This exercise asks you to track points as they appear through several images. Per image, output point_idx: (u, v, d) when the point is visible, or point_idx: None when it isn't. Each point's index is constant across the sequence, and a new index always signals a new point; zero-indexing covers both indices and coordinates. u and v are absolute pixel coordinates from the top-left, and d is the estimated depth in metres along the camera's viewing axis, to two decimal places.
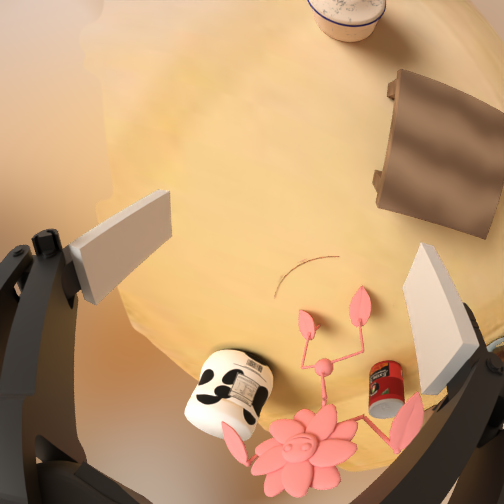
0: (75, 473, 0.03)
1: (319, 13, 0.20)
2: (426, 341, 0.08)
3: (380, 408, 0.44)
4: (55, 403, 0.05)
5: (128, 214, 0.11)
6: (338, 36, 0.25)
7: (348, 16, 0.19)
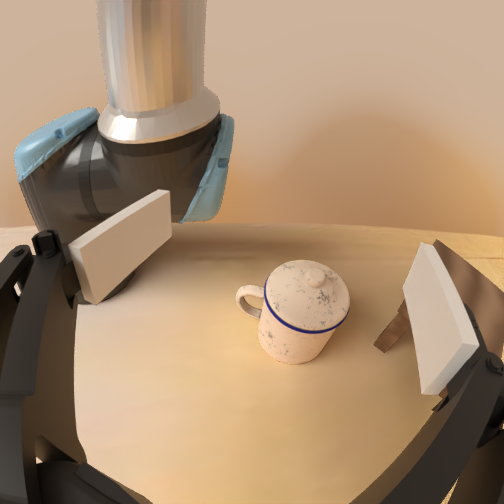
0: (75, 473, 0.03)
1: (318, 331, 0.24)
2: (425, 341, 0.08)
3: None
4: (55, 403, 0.05)
5: (128, 214, 0.11)
6: (319, 350, 0.29)
7: (340, 307, 0.25)
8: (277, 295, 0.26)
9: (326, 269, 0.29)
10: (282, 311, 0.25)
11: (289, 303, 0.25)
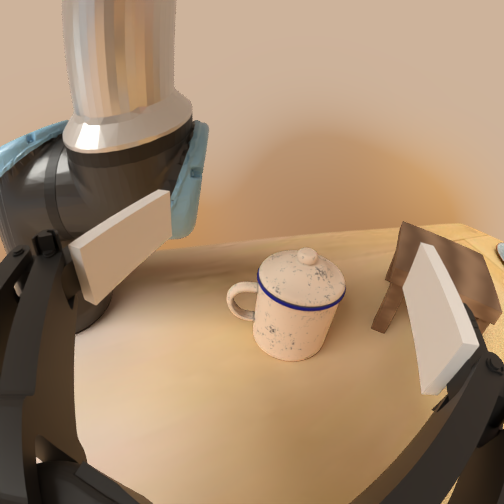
0: (75, 473, 0.03)
1: (324, 306, 0.24)
2: (425, 341, 0.08)
3: None
4: (55, 403, 0.05)
5: (128, 214, 0.11)
6: (324, 338, 0.28)
7: (338, 282, 0.26)
8: (274, 280, 0.25)
9: None
10: (284, 293, 0.24)
11: (289, 284, 0.25)
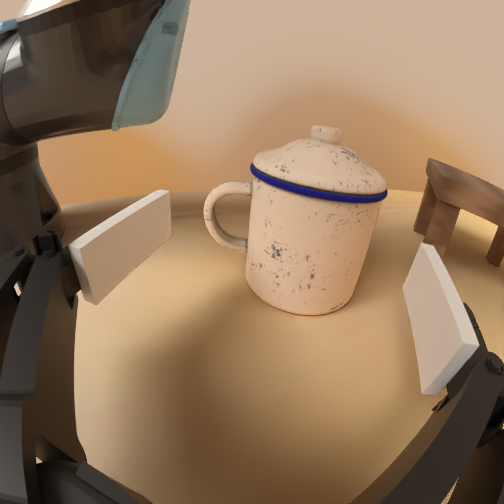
0: (75, 473, 0.03)
1: (363, 195, 0.13)
2: (425, 341, 0.08)
3: None
4: (55, 403, 0.05)
5: (128, 214, 0.11)
6: (358, 275, 0.18)
7: (375, 173, 0.15)
8: (277, 160, 0.15)
9: None
10: (295, 171, 0.14)
11: (302, 162, 0.14)
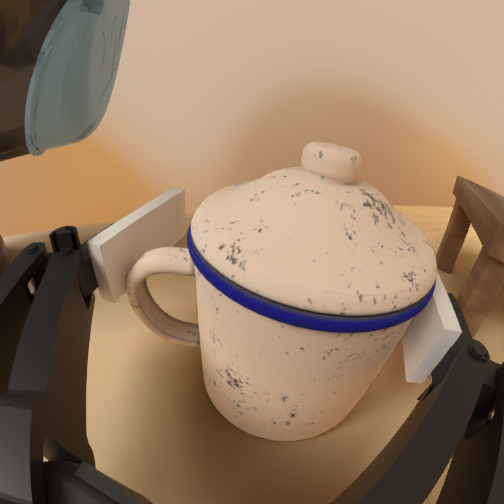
0: (75, 473, 0.03)
1: (403, 311, 0.06)
2: (410, 330, 0.09)
3: None
4: (66, 404, 0.05)
5: (146, 212, 0.11)
6: None
7: (420, 239, 0.08)
8: (229, 225, 0.07)
9: None
10: (258, 265, 0.06)
11: (278, 235, 0.07)
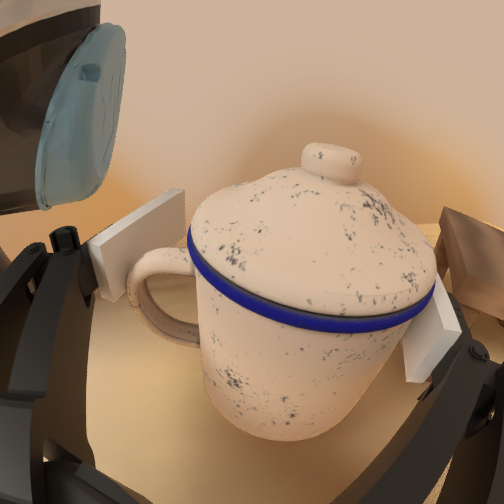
0: (75, 473, 0.03)
1: (403, 311, 0.06)
2: (410, 330, 0.09)
3: None
4: (66, 405, 0.05)
5: (146, 212, 0.11)
6: None
7: (420, 239, 0.08)
8: (229, 226, 0.08)
9: None
10: (258, 265, 0.06)
11: (277, 236, 0.07)
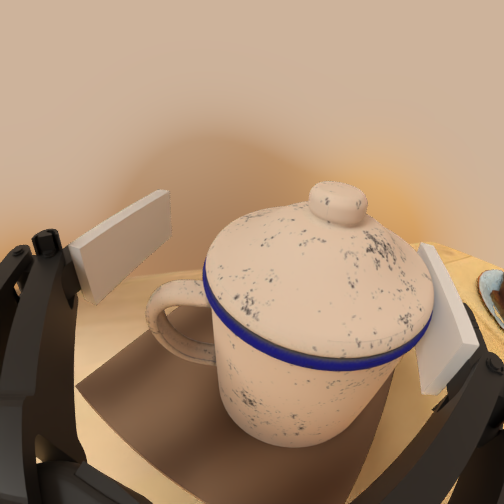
0: (75, 473, 0.03)
1: (397, 349, 0.07)
2: (425, 341, 0.08)
3: None
4: (55, 403, 0.05)
5: (128, 214, 0.11)
6: None
7: (419, 273, 0.08)
8: (242, 273, 0.08)
9: None
10: (270, 316, 0.07)
11: (287, 286, 0.07)
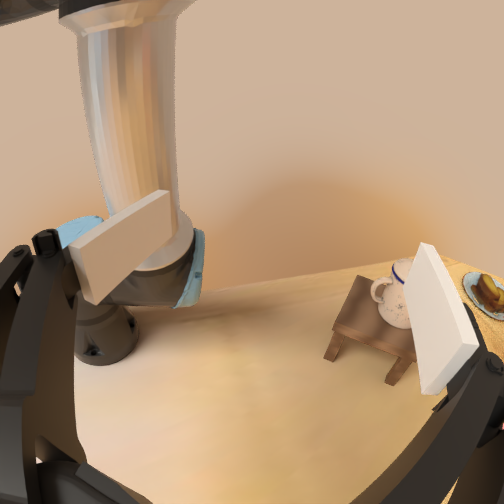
0: (75, 473, 0.03)
1: None
2: (425, 341, 0.08)
3: None
4: (55, 403, 0.05)
5: (128, 214, 0.11)
6: None
7: None
8: (406, 275, 0.38)
9: None
10: None
11: None
